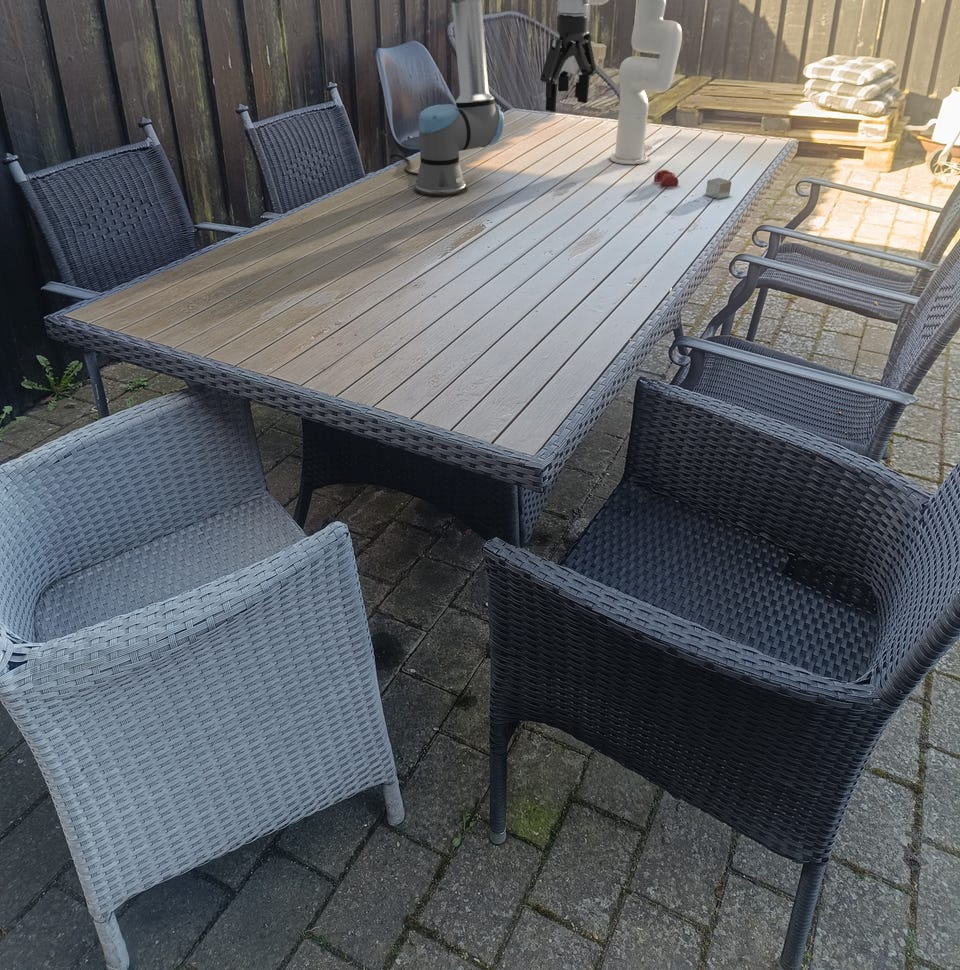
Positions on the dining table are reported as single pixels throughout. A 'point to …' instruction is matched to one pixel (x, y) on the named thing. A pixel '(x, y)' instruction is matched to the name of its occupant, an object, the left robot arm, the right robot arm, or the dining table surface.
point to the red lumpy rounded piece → (666, 178)
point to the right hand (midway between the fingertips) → (571, 94)
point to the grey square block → (718, 188)
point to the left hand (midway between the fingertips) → (566, 106)
